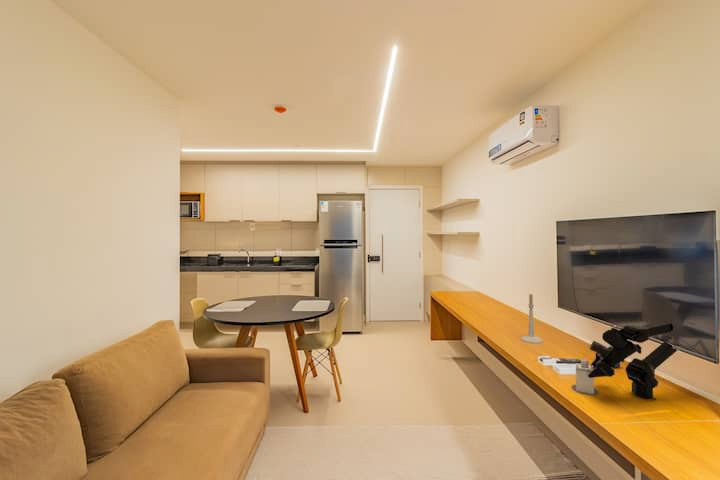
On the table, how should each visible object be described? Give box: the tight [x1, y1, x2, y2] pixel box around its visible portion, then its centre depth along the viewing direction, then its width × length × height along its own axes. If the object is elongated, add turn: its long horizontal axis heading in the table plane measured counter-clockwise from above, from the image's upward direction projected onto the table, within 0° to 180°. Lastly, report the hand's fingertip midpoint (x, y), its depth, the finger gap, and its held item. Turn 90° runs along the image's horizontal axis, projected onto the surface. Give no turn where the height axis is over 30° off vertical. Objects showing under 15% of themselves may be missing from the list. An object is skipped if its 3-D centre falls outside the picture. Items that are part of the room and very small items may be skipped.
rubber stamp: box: [575, 358, 595, 394], centre depth 150 cm, size 6×6×13 cm
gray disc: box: [570, 384, 600, 396], centre depth 150 cm, size 10×10×1 cm
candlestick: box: [520, 294, 544, 344], centre depth 220 cm, size 13×13×30 cm
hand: (588, 372), depth 149 cm, fingers open, 9 cm apart
